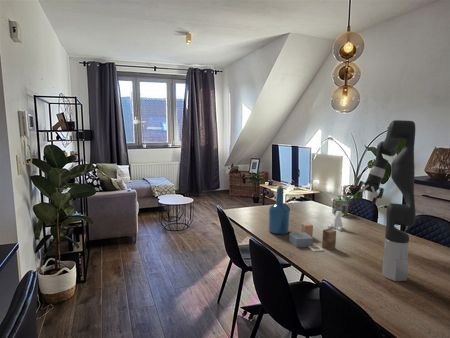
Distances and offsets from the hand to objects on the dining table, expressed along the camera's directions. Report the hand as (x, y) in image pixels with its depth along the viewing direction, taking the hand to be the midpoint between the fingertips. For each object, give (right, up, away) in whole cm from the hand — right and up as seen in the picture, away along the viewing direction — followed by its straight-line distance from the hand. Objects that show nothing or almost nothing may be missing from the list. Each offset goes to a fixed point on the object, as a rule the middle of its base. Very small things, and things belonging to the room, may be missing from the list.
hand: (365, 201), depth 178 cm
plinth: (-39, -24, -4) cm, 46 cm away
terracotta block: (-33, -23, +7) cm, 41 cm away
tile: (-33, -25, -12) cm, 43 cm away
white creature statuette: (-8, -21, +24) cm, 33 cm away
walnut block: (-25, -25, -10) cm, 37 cm away
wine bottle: (-48, -22, +16) cm, 55 cm away
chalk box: (+7, -17, +59) cm, 61 cm away
